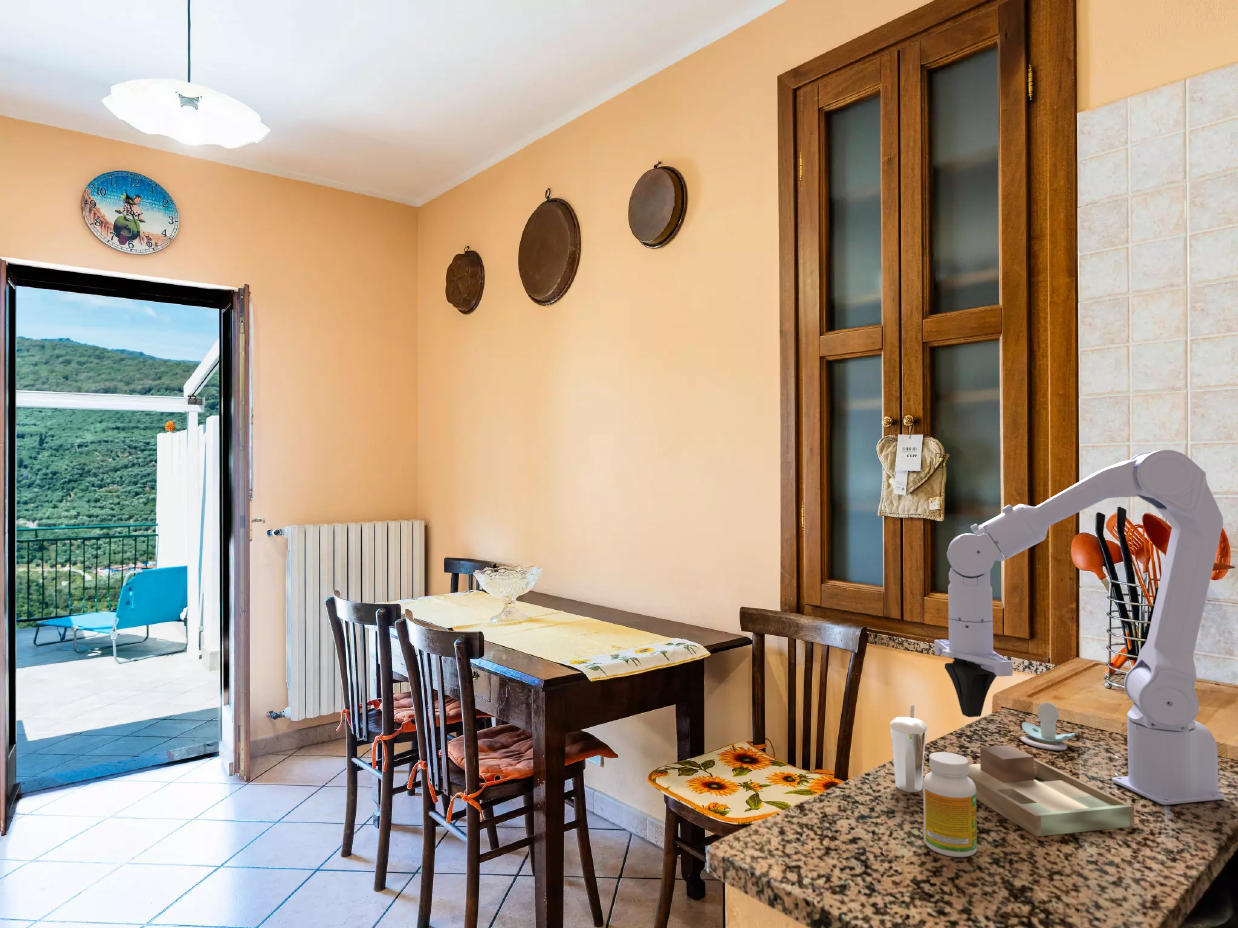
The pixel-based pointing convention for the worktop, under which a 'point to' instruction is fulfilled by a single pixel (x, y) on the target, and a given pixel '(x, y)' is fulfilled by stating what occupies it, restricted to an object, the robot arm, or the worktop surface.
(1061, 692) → the worktop surface
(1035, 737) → the pacifier
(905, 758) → the milkshake
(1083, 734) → the worktop surface
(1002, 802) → the tray
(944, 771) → the supplement bottle
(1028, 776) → the walnut block
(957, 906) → the worktop surface
